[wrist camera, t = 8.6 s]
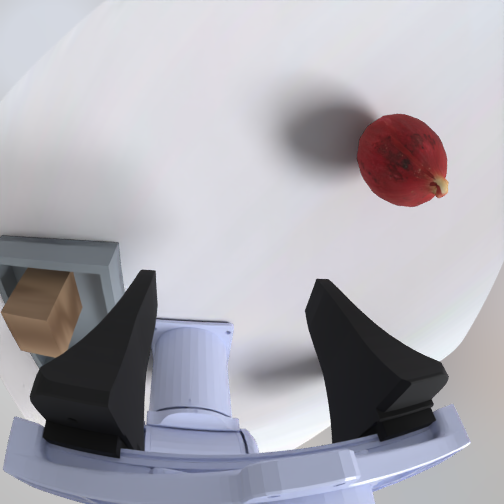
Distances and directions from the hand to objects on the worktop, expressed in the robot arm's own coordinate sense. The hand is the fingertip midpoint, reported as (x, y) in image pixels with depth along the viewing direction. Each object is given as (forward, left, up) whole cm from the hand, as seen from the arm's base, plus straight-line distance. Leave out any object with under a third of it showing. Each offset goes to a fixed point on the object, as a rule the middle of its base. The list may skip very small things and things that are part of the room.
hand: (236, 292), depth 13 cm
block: (-8, +15, -9) cm, 19 cm away
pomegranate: (+6, -10, -10) cm, 15 cm away
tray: (-12, +14, -9) cm, 21 cm away
